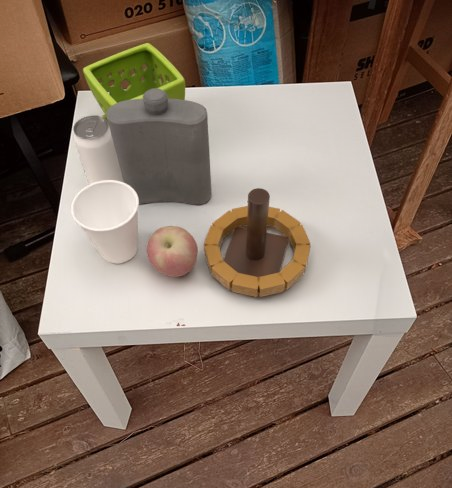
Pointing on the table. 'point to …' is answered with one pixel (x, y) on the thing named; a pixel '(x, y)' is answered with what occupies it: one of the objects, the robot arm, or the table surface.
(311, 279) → the table surface
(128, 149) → the flask
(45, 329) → the table surface
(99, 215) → the cup
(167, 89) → the flower pot
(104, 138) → the can
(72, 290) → the table surface
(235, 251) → the peg stand
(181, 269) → the apple
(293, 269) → the hoop
